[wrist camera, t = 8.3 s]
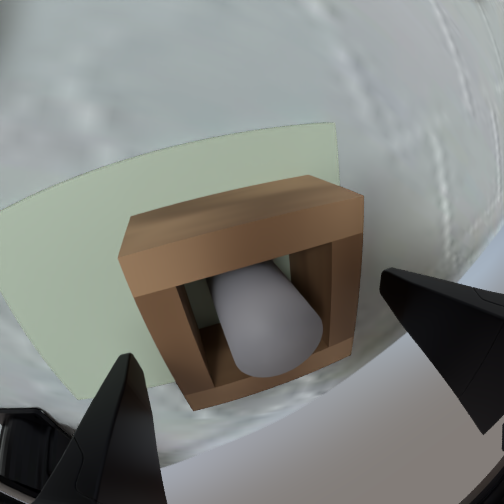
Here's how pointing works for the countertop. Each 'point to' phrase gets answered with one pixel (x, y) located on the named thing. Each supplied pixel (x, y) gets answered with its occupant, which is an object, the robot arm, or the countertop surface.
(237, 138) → the keeper board
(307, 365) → the link
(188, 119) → the countertop surface
